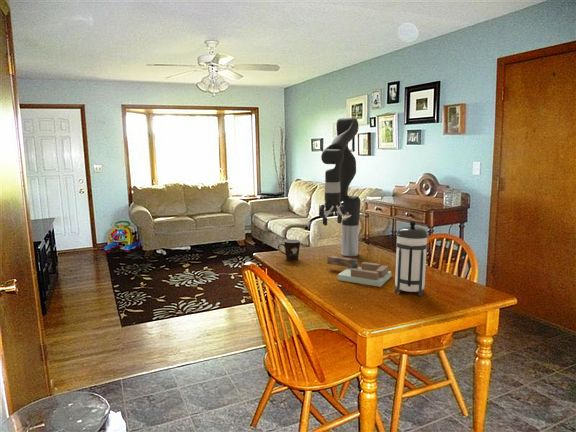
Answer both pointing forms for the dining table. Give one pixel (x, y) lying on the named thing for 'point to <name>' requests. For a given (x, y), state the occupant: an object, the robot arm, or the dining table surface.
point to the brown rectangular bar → (343, 261)
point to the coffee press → (411, 259)
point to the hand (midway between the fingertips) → (332, 224)
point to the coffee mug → (291, 249)
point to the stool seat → (366, 274)
